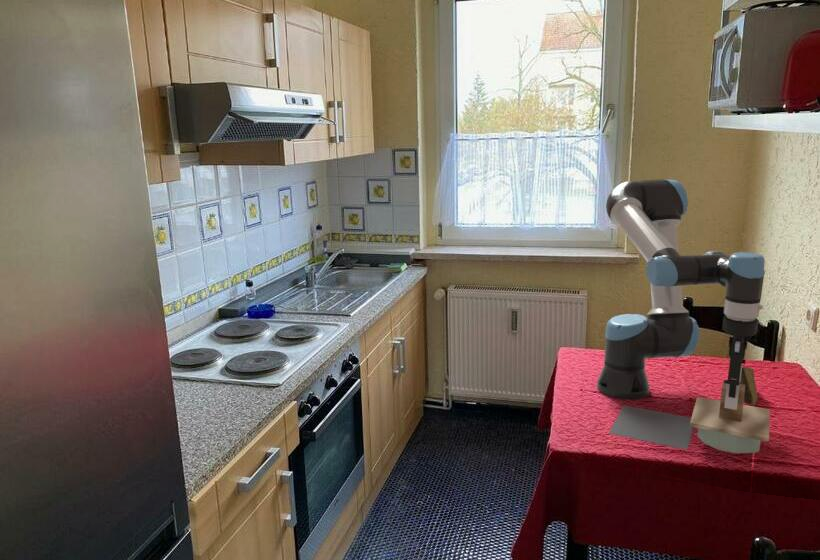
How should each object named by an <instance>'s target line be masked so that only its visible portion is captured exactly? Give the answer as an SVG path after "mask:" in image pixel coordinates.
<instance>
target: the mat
mask: <svg viewBox="0 0 820 560" xmlns="http://www.w3.org/2000/svg"><path fill="white" fill-rule="evenodd" d="M691 418H692V417H688V416H683V415H679V414H674V413H667V412H661V411H656V410H650V409H645V408H640V407H635V406H630V405H622V407H621V409H620V411H619V413H618V415H617V417H616V419H615V420H614V422H613V424H612V426H611V428H610V430H609V431H608V434H610V435H613V436H619V437H623V438H628V439H633V440H637V441H642V442H647V443H652V444H657V445H662V446H667V447H672V448H676V449H679V450H680V449H681V450H686V451H688V449H689V445H690V442H691V438H692V434H693V429H694V427H690V421H691Z"/></svg>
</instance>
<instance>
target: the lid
mask: <svg viewBox="0 0 820 560" xmlns="http://www.w3.org/2000/svg"><path fill="white" fill-rule="evenodd" d="M726 386H727V384H726V383H724V380H723V381H722V385H721V393H720V400H717V399H711V398H706V397H700V396H697V397H696V401H695V404H694V407H693V410H692V416H691V417H690V418H691V421H690V427H693V428H696V429H698V428H700V429H705V430H711V431H716V432H721V433H726V434H731V435H737V436H742V437H747V438H752V439H757V440H761V442H762V441H763V442H767V443H768V442H769V441H770V415H771V413H770V411H771V409H769V408H764V407H758V406H754V405H749V404H748V405H747V404H744V403H745V402H744V393H745V384H740V386H739V395H738V404H737V410H734V409H728V408H724V405H725V396H726Z"/></svg>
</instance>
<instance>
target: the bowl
mask: <svg viewBox="0 0 820 560" xmlns="http://www.w3.org/2000/svg"><path fill="white" fill-rule="evenodd" d="M697 437H698V439H699V440H700V441H701V442H703V444H704V445H706V446H709V447H711V448H714V449H715V450H718V451H722V452H727V453H731V454H752V455H753V454H757V452H759V451H760V448H761V442H762V440H757V439H752V438H747V437H742V436H737V435H731V434H726V433H721V432H716V431H711V430H705V429H700V428H697Z"/></svg>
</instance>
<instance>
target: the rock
mask: <svg viewBox="0 0 820 560" xmlns="http://www.w3.org/2000/svg"><path fill="white" fill-rule="evenodd" d="M740 384H745V393H744V402H743V403H746V404H748V405H750V406H756V404H757V402H758V399H759V398H758V397H759V396H758V393H757V392H758V390H757V386H756V379H755V371H754V369H753V368H751V367H749V366H742V372H741V381H740Z"/></svg>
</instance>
